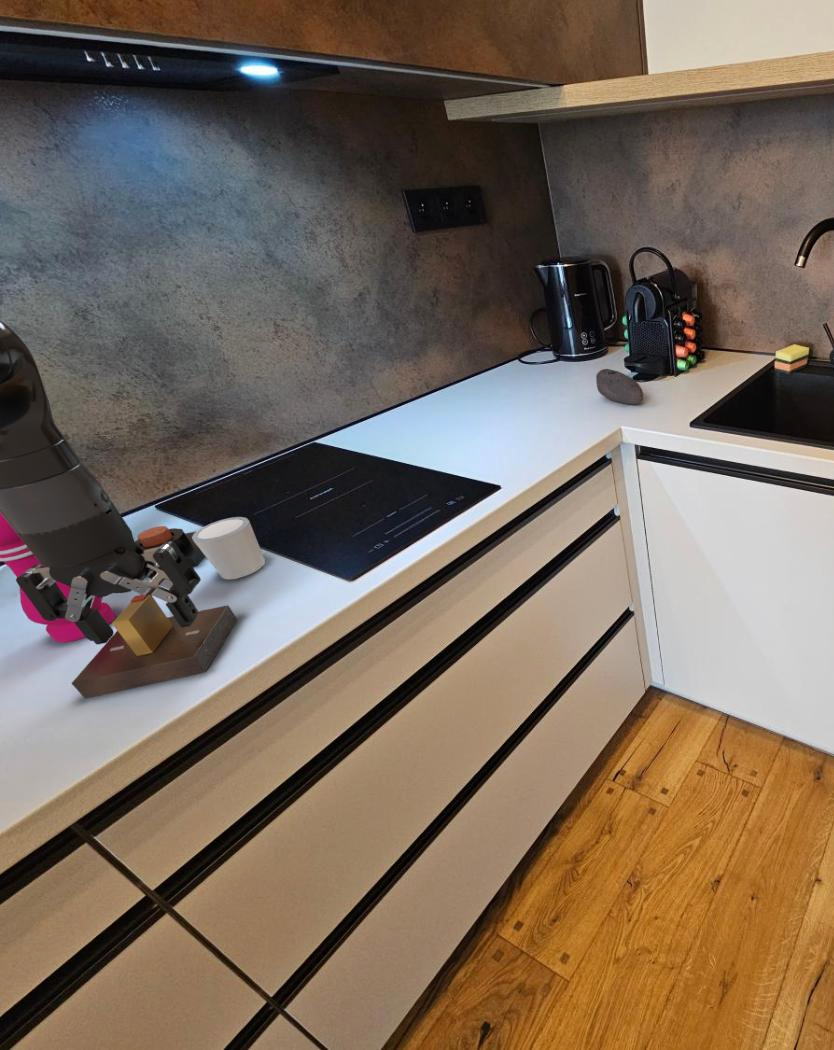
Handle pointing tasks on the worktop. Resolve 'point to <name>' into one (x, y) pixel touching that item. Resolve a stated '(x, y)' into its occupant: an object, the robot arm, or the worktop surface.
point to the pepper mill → (15, 554)
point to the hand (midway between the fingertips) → (148, 630)
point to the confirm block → (181, 546)
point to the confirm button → (154, 536)
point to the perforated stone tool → (619, 387)
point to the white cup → (230, 547)
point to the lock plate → (157, 656)
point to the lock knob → (143, 624)
